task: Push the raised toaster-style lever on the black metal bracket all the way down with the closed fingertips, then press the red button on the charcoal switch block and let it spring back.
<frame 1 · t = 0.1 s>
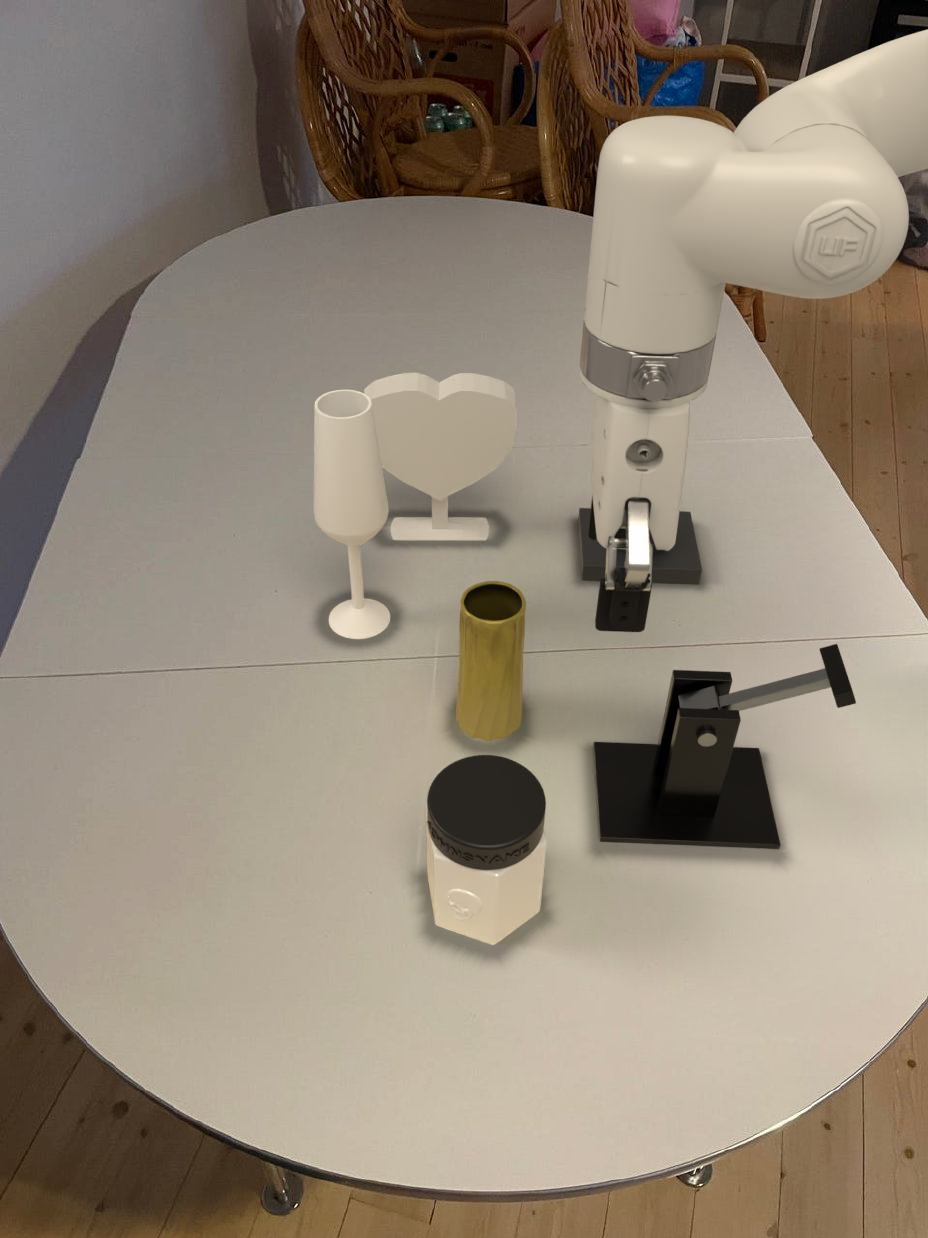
hand: (614, 581, 72), 22 cm above the table, tool pointing down, fingers open, 9 cm apart
button: (641, 519, 107), point 4 cm above the table, slide at 0.1 cm
champagne flute: (359, 621, 102), on the table
lever: (763, 694, 77), point 13 cm above the table, hinge at 25.0°
bracket: (680, 802, 86), on the table
jar: (482, 900, 79), on the table
vase: (488, 724, 92), on the table
switch block: (636, 554, 110), on the table
heart sculpture: (440, 531, 113), on the table
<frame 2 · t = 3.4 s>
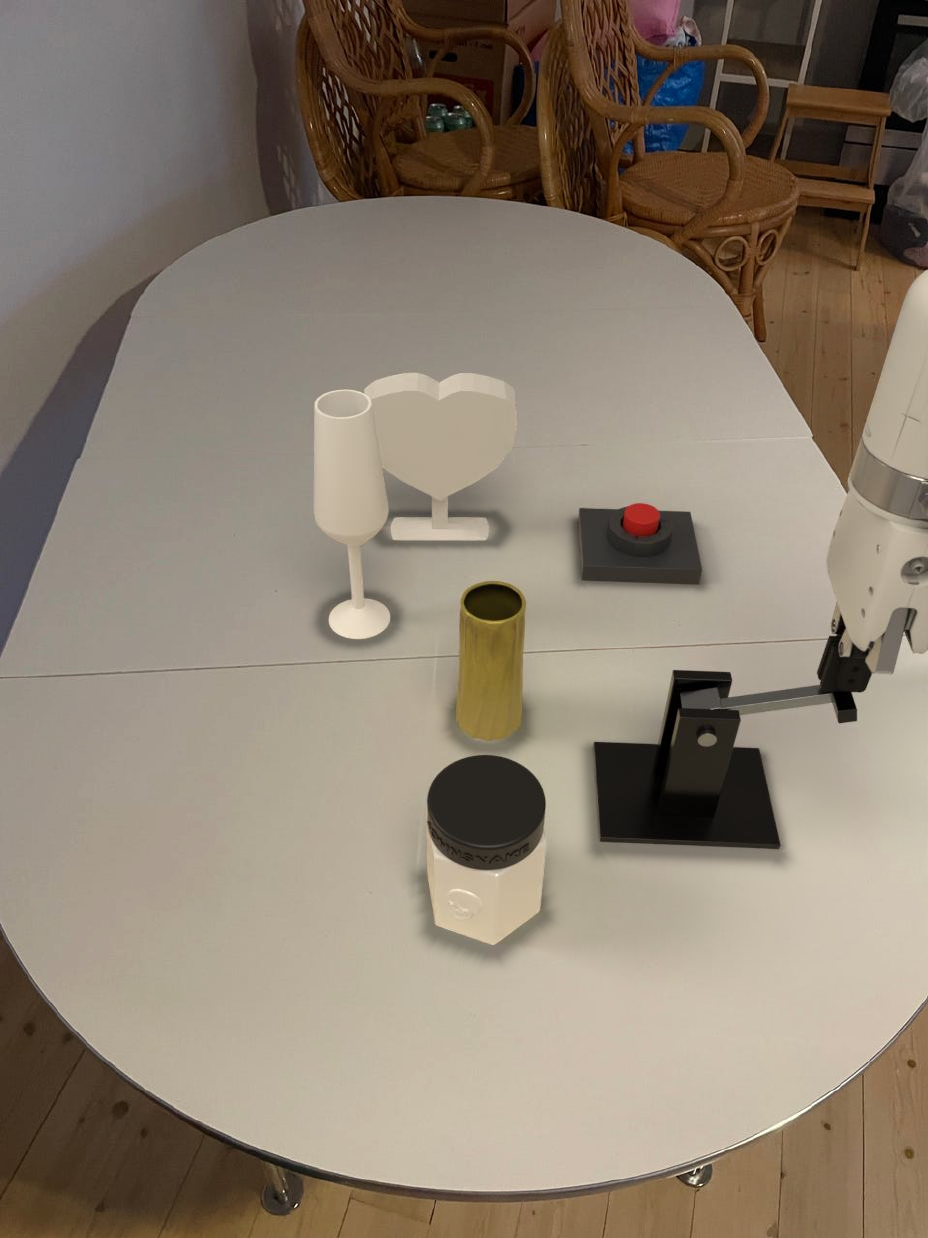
hand: (840, 683, 76), 14 cm above the table, tool pointing down, fingers closed
lever: (765, 702, 78), point 12 cm above the table, hinge at 14.8°, touching gripper
everything else where it was.
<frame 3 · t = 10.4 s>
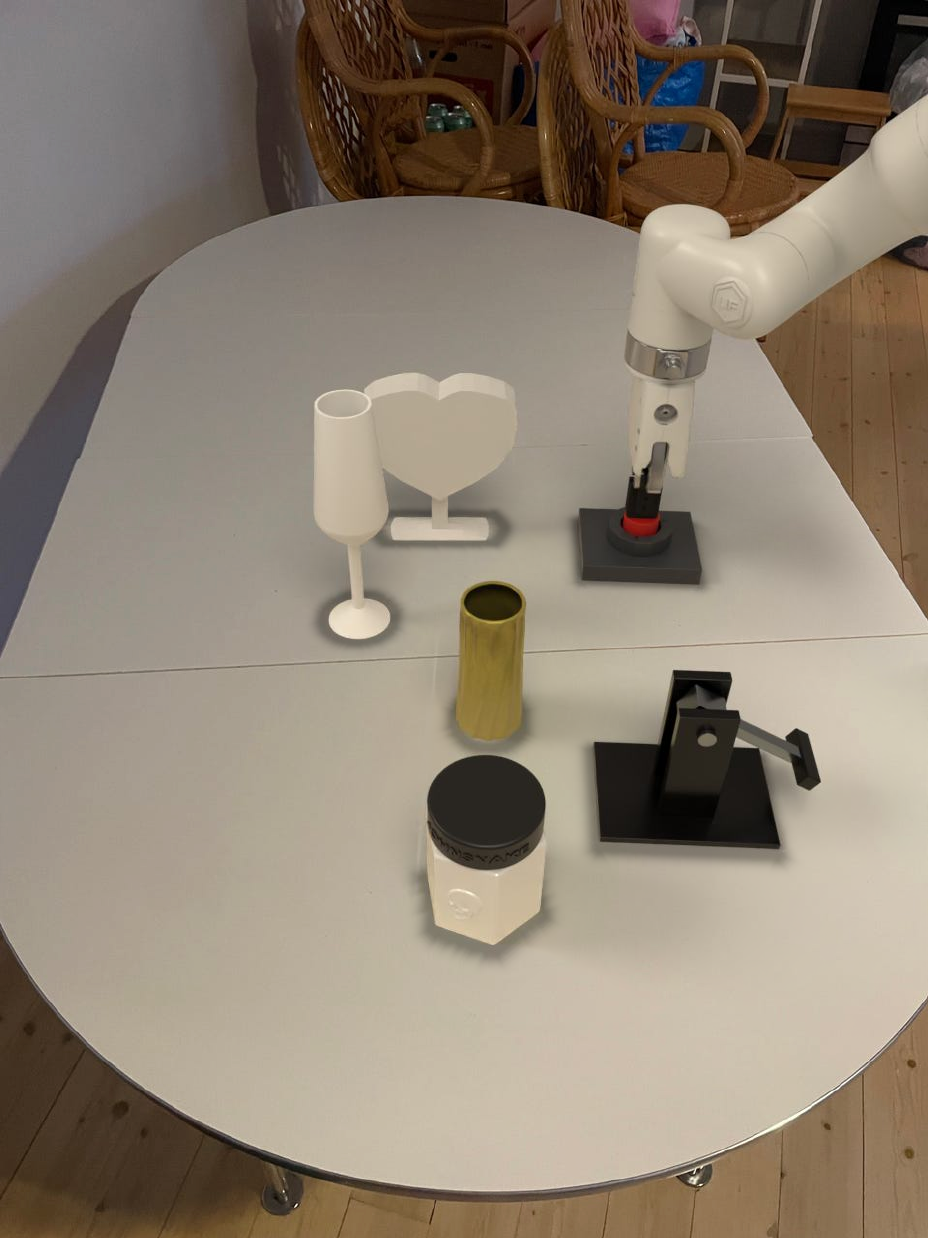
hand: (641, 513, 107), 5 cm above the table, tool pointing down, fingers closed
button: (641, 521, 108), point 4 cm above the table, slide at 0.0 cm, touching gripper
lever: (749, 733, 80), point 9 cm above the table, hinge at -30.1°
everything else where it was.
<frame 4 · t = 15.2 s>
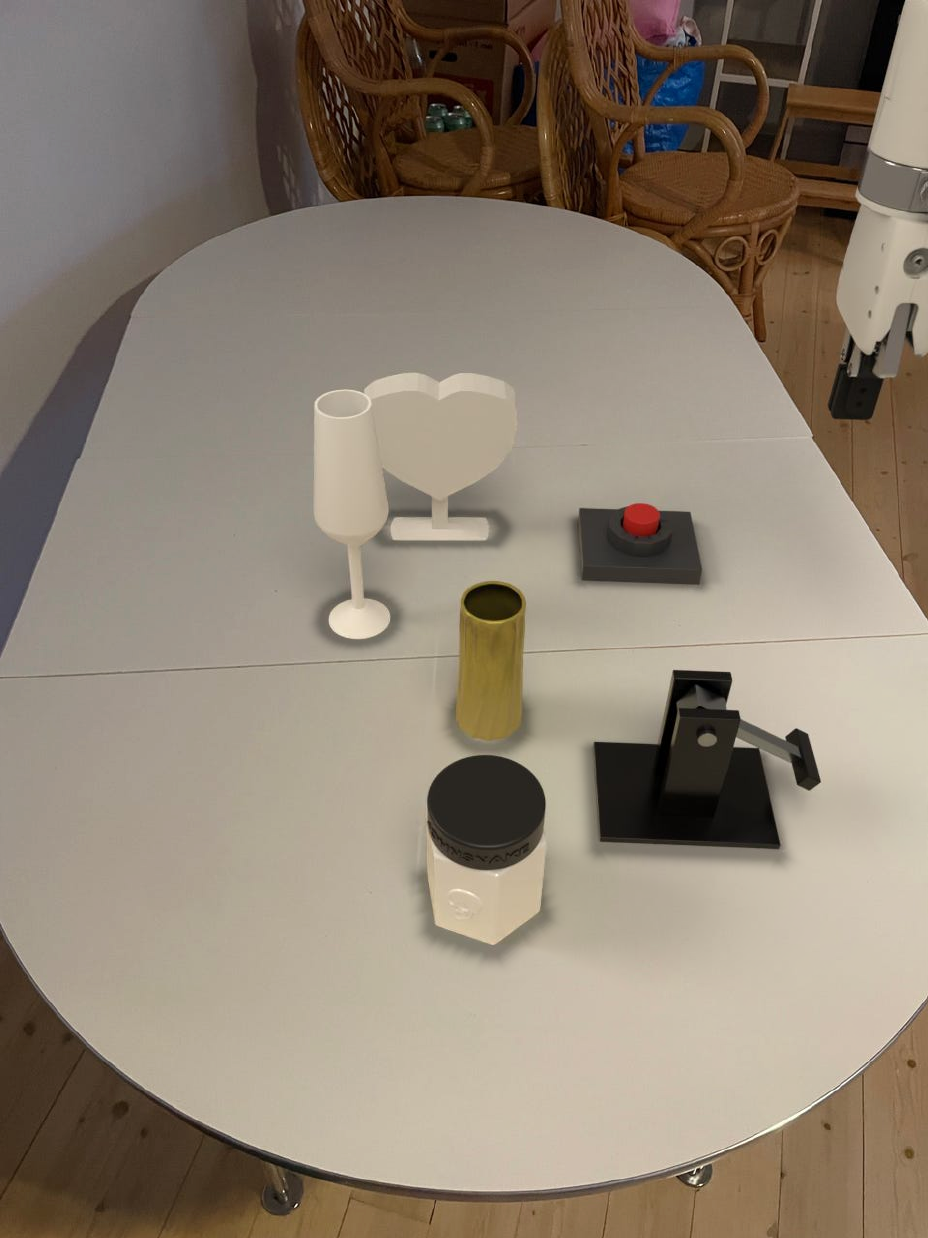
hand: (848, 413, 84), 25 cm above the table, tool pointing down, fingers closed
button: (641, 519, 107), point 4 cm above the table, slide at 0.1 cm
everything else where it was.
at the end: lever at -30° (first picture: +25°); button pushed in 1.1 cm at the most during the clip, back to where it started at the end; button slide at 0.1 cm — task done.
